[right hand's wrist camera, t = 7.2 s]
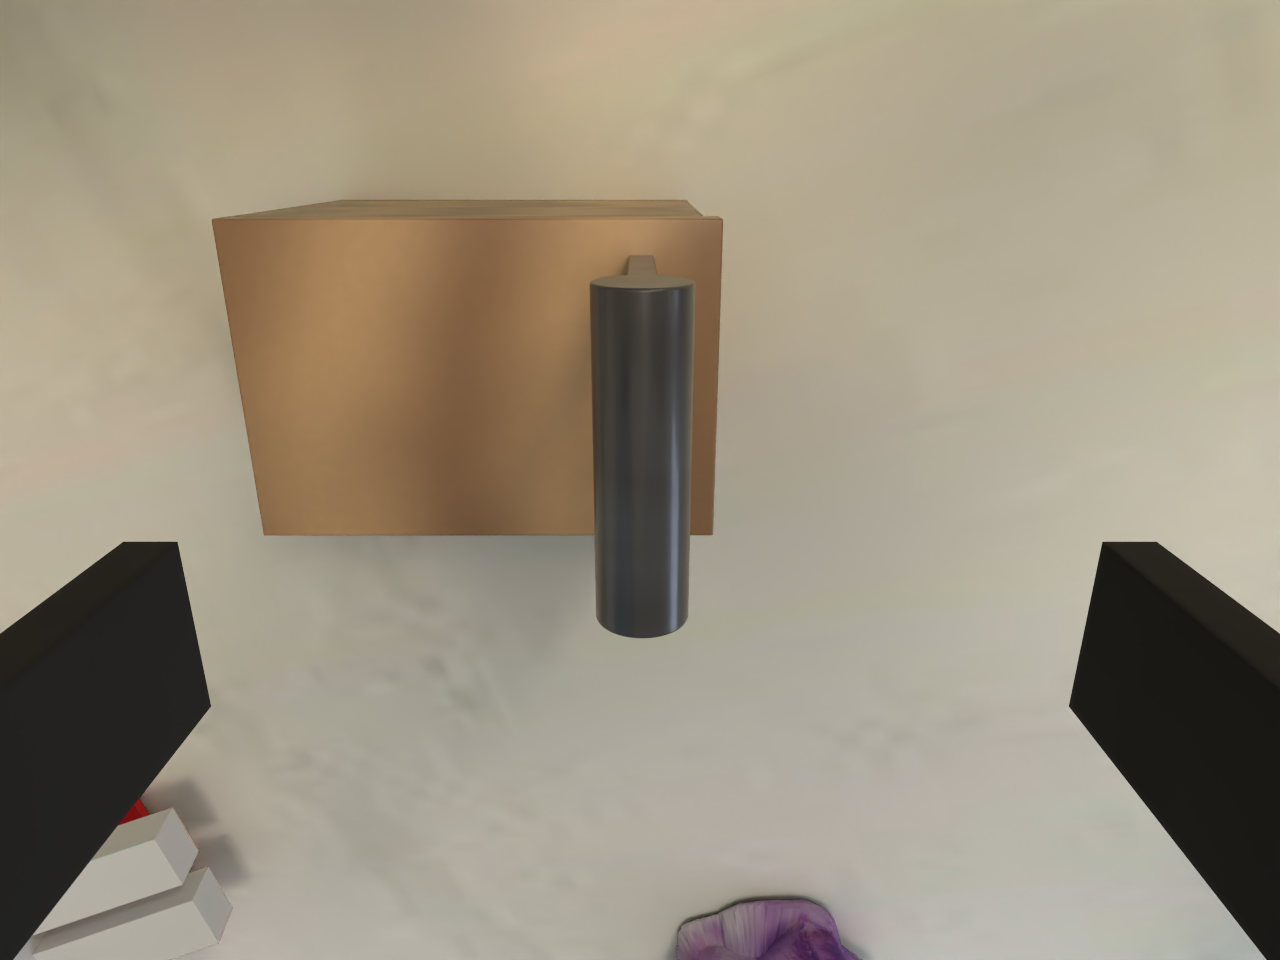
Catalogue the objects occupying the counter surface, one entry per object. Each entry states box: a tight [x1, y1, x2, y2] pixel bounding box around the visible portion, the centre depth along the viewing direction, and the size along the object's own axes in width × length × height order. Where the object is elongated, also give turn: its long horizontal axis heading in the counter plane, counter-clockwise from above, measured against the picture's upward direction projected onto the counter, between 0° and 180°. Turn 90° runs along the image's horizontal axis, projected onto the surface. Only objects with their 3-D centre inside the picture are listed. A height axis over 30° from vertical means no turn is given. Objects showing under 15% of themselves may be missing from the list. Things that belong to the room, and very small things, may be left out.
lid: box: [212, 216, 723, 638], centre depth 22 cm, size 14×9×9 cm
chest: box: [238, 200, 703, 216], centre depth 31 cm, size 14×9×10 cm
